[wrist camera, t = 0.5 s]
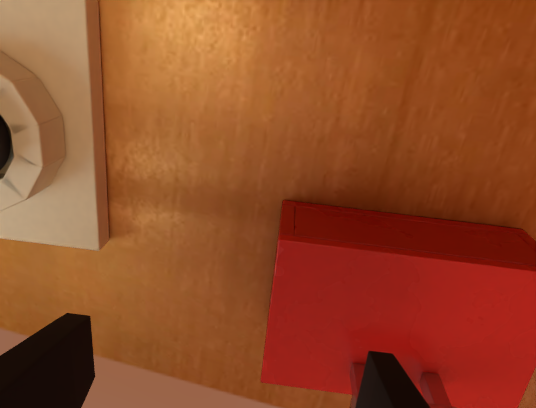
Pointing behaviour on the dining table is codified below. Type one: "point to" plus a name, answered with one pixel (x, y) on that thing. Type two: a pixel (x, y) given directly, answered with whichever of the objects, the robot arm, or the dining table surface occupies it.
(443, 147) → the dining table surface
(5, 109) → the dial knob panel
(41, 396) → the robot arm
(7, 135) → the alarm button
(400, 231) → the red rectangular open box
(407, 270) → the red box lid
